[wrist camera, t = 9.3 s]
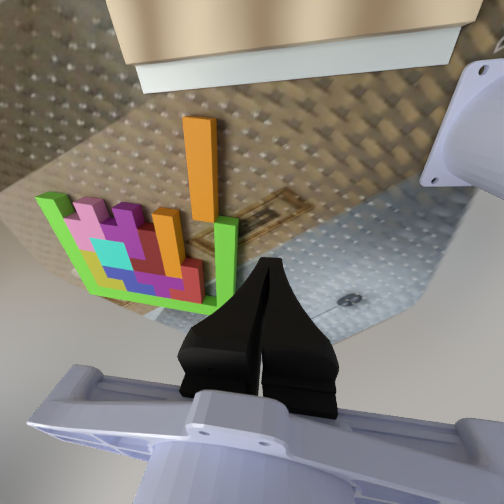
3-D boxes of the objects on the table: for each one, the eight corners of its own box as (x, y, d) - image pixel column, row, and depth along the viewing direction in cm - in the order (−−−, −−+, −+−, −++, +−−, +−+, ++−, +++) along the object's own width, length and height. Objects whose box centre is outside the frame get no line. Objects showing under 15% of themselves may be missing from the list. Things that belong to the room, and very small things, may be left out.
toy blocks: (235, 307, 33) (244, 120, 18) (232, 319, 31) (239, 123, 16) (100, 283, 34) (5, 95, 20) (90, 294, 33) (-24, 94, 18)
